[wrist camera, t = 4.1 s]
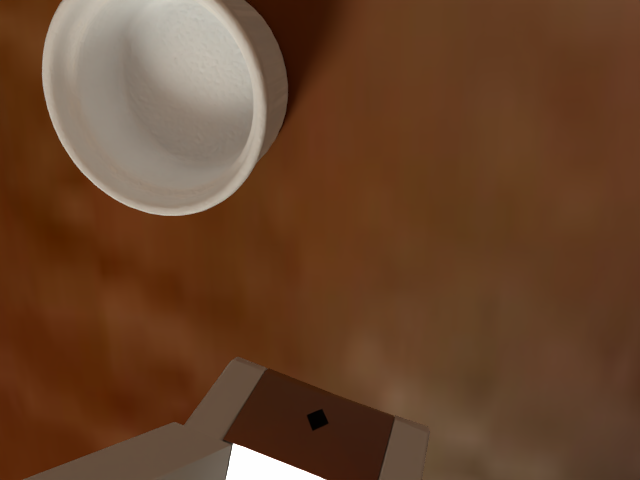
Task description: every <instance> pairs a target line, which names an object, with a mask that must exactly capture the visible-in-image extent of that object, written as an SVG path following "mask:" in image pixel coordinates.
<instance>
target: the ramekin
mask: <svg viewBox="0 0 640 480" xmlns="http://www.w3.org/2000/svg"><path fill="white" fill-rule="evenodd" d="M42 79H43V88H44V94H45V99H46V104H47V108H48V111H49V114H50V117H51V120H52V123H53V126H54V129H55V130H56V132H57V135H58V137H59V139H60V141H61V143H62V145H63V146H64V148H65V150H66V151H67V153H68V154H69V156H70V157H71V159H72V160H73V161H74V163H75V164H76V165H77V167H78V168H79V169H80V170H81V171H82V173H83V174H84V175H85V176H87V177H88V178H89V179H90V180H91V181H92V182H93V183H94V185H96V186H97V187H98V188H100V189H101V190H102V191H104V192H105V193H106V194H108V195H109V196H111V197H112V198H114V199H115V200H117V201H119V202H121V203H123V204H125V205H127V206H129V207H132V208H135V209H138V210H141V211H144V212H147V213H151V214H157V215H165V216H166V215H169V216H178V215H187V214H193V213H197V212H201V211H204V210H206V209H208V208H211V207H213V206H215V205H217V204H218V203H220V202H222V201H224V200H225V199H227V198H228V197H229V196H230V195H232V194H233V193H234V192H235V191H236V190H237V189H238V188H239V187H240V186H241V185H242V184H243V182H244V181H245V180H246V179H247V177H248V176H249V174H250V173H251V171H252V170H253V168H254V166H255V165H256V163H257V162H258V161H259V159H260V158H261V157H262V156H263V155H264V154H265V153H266V152H267V151H268V149H269V148H270V146H271V144H272V143H273V142H274V141H275V139H276V137H277V135H278V132H279V130H280V128H281V126H282V124H283V120H284V117H285V114H286V107H287V101H288V82H287V75H286V68H285V64H284V60H283V56H282V53H281V51H280V48H279V45H278V43H277V41H276V39H275V37H274V35H273V33H272V31H271V29H270V28H269V26H268V25H267V23H266V22H265V20H264V19H263V17H262V16H261V15H260V14H259V13H258V12H257V11H256V10H255V9H254V8H253V7H252V6H251V5H250V4H248V3H247V2H246V1H245V0H63V1H62V2H61V3H60V5H59V7H58V8H57V10H56V12H55V14H54V16H53V18H52V21H51V24H50V26H49V30H48V33H47V36H46V40H45V44H44V51H43V63H42Z"/></svg>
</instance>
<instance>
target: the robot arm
mask: <svg viewBox="0 0 640 480" xmlns="http://www.w3.org/2000/svg"><path fill="white" fill-rule="evenodd" d="M429 435H430V431H429V428H428V426H425V425H422V424H419V423H416V422H413V421H410V420H407V419H404V418H401V417H399V416H396V415H395V417H394V416H393V415H391V414H388V413H385V412H382V411H379V410H377V409H374V408H371V407H368V406H366V405H363V404H360V403H357V402H355V401H352V400H349V399H346V398H344V397H341V396H338V395H335V394H333V393H330V392H328V391H325V390H323V389H320V388H318V387H315V386H313V385H310V384H307V383H305V382H302V381H300V380H297V379H295V378H292V377H290V376H287V375H285V374H282V373H280V372H277V371H275V370H272V369H270V368H269V369H267V368H266V367H263V366H260V365H258V364H255V363H253V362H250V361H248V360H245V359H243V358H240V357H237V358H235V359H233V360H232V361H231V362H230V363H229V364H228V366H227V367H226V368H225V370H224V371H223V372H222V374H221V375H220V377H219V378H218V379H217V381H216V382H215V383H214V385H213V386H212V388H211V389H210V390H209V392H208V393H207V394H206V396H205V397H204V399H203V400H202V401H201V403H200V404H199V405H198V407H197V408H196V409H195V411H194V412H193V414H192V415H191V416H190V418H189V419H188V420H187V422H186V423H185V425H184V426H183V425H181V424H178V423H175V422H173V423H170V424H168V425H165V426H162V427H160V428H157V429H155V430H152V431H149V432H147V433H144V434H142V435H139V436H136V437H134V438H131V439H128V440H126V441H123V442H121V443H118V444H115V445H113V446H110V447H107V448H105V449H102V450H100V451H97V452H94V453H92V454H89V455H86V456H84V457H81V458H79V459H76V460H73V461H71V462H68V463H65V464H63V465H60V466H58V467H55V468H52V469H50V470H47V471H44V472H42V473H39V474H37V475H34V476H31V477H29V478H26V479H24V480H422V476H423V470H424V464H425V458H426V452H427V446H428V440H429Z"/></svg>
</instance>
